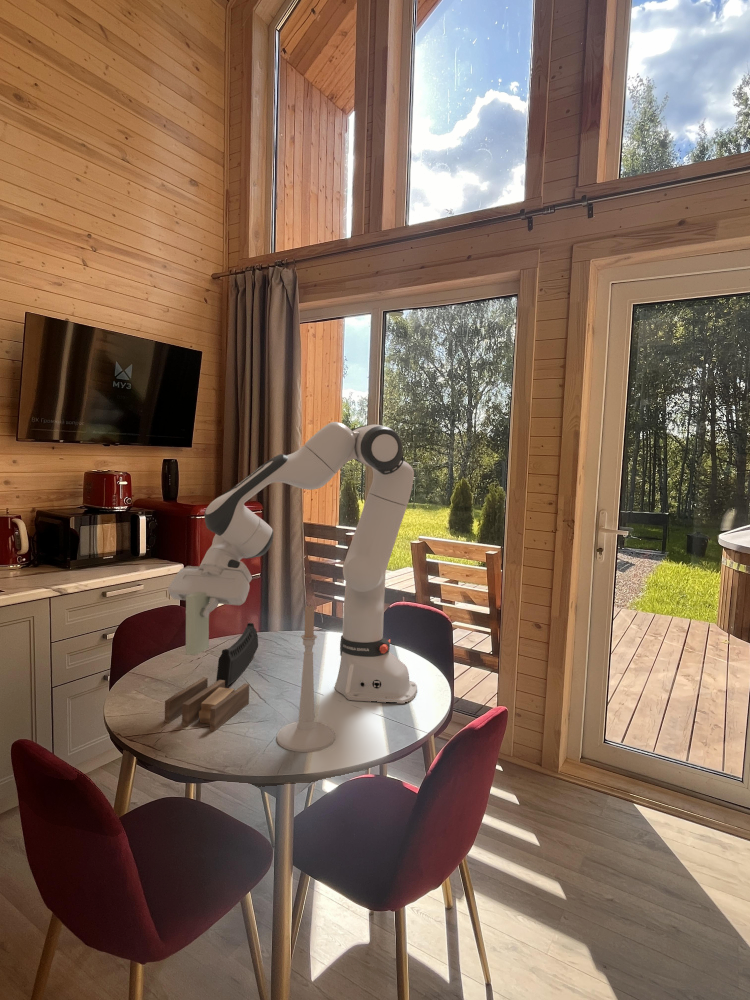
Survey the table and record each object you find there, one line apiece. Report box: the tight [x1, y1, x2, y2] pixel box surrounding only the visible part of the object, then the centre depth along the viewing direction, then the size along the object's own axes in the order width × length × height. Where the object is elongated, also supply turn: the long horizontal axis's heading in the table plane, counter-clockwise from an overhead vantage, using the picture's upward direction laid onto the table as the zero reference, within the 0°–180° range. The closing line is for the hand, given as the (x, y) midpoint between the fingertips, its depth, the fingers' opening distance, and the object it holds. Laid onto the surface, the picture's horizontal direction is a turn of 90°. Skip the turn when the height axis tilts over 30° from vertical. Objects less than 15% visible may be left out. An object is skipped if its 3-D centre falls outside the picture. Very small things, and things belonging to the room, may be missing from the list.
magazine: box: [215, 622, 259, 688], centre depth 166 cm, size 17×3×30 cm
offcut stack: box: [199, 687, 235, 724], centre depth 138 cm, size 4×11×4 cm, turn 171°
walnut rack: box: [164, 676, 250, 732], centre depth 138 cm, size 13×16×5 cm
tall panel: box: [185, 592, 210, 656], centre depth 138 cm, size 2×6×14 cm, turn 164°
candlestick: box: [276, 605, 336, 753], centre depth 127 cm, size 13×13×30 cm
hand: (196, 615), depth 137 cm, fingers closed on tall panel, 2 cm apart
